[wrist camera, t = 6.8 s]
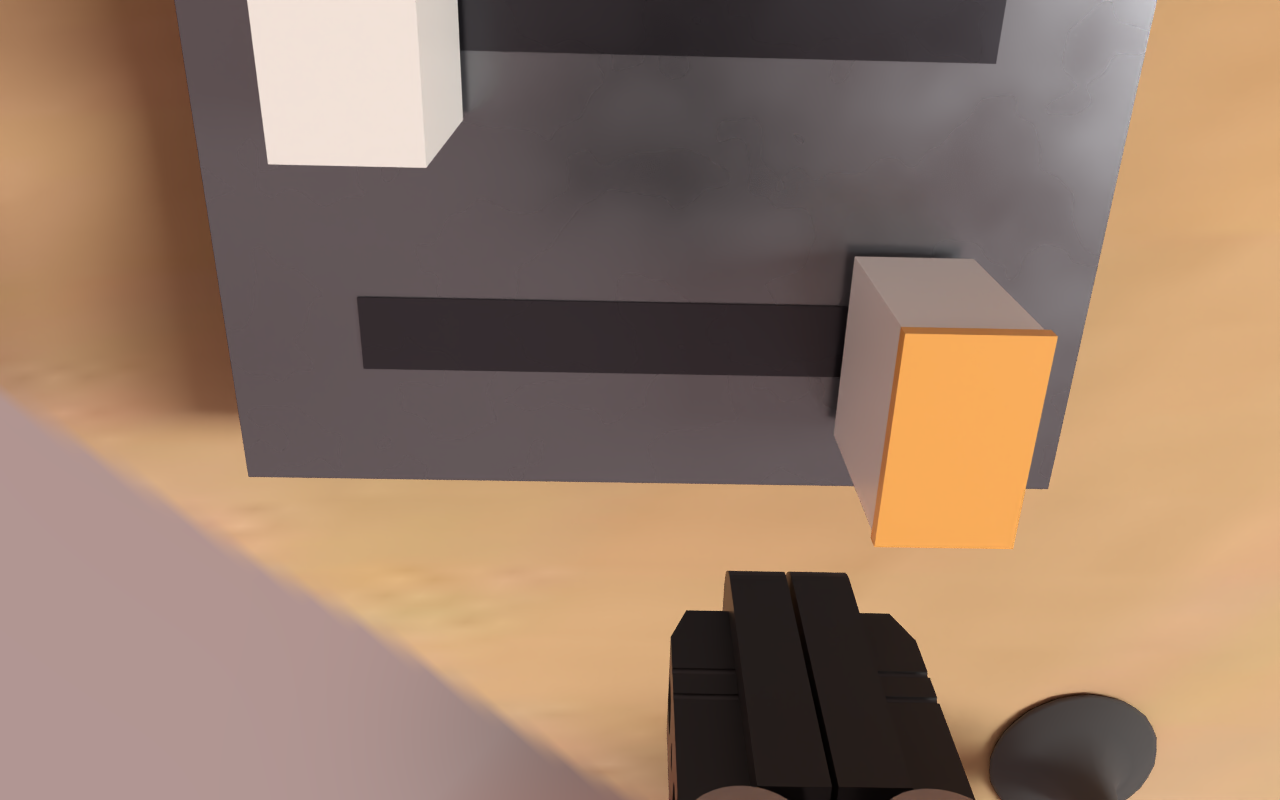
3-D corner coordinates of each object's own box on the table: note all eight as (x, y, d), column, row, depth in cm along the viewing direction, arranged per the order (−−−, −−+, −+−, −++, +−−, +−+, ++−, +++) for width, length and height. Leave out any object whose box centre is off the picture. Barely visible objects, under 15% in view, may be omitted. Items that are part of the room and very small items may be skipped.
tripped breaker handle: (976, 256, 21) (1058, 336, 17) (945, 438, 23) (1013, 548, 19) (852, 253, 21) (905, 333, 17) (831, 436, 22) (874, 546, 19)
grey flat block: (1209, -616, 18) (1316, -711, 15) (1004, 429, 26) (1048, 490, 24) (145, -658, 17) (54, -766, 15) (288, 416, 26) (247, 477, 23)
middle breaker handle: (452, -118, 18) (407, -126, 14) (462, 119, 19) (426, 167, 16) (310, -123, 18) (230, -131, 14) (334, 116, 19) (268, 164, 16)
